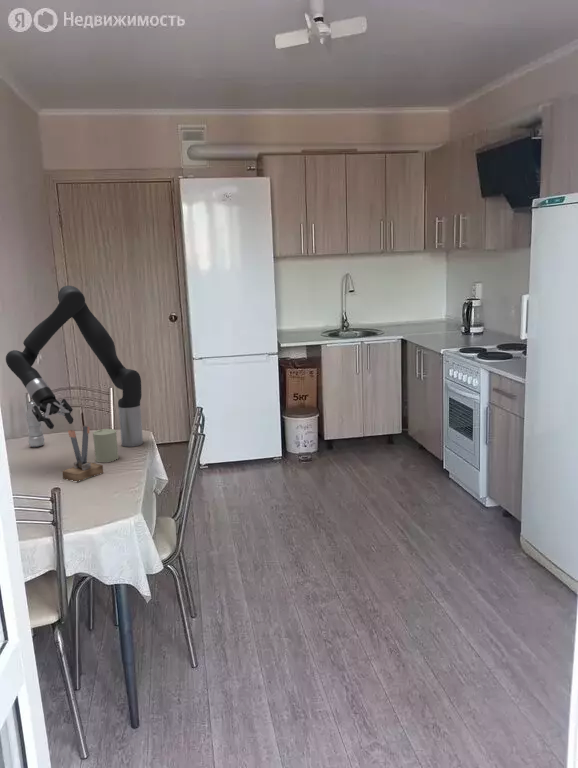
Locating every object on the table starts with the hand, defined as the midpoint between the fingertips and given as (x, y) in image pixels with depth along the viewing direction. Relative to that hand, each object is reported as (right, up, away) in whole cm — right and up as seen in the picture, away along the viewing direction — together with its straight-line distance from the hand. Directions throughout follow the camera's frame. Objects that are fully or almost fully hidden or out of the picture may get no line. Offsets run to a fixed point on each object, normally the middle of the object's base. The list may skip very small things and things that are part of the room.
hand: (62, 425), depth 235 cm
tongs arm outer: (+8, -15, -3) cm, 18 cm away
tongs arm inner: (+9, -15, -2) cm, 18 cm away
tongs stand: (+8, -19, -2) cm, 21 cm away
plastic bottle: (-25, -12, +39) cm, 48 cm away
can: (+12, -15, +18) cm, 26 cm away
